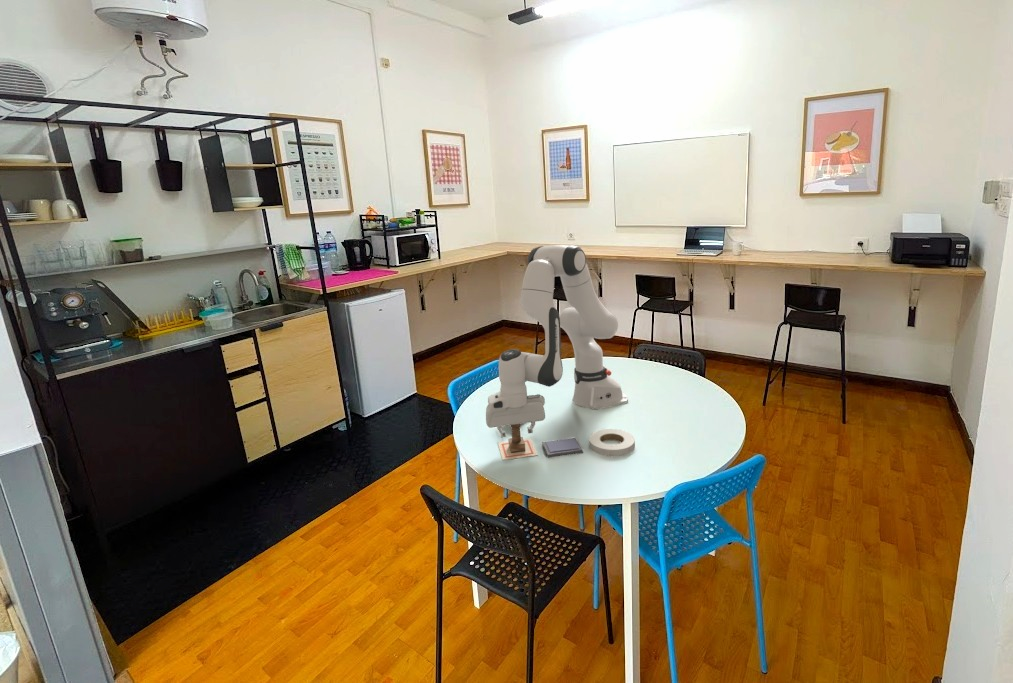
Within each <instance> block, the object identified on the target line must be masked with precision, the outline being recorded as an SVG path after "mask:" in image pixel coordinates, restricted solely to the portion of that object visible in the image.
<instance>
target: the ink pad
mask: <svg viewBox="0 0 1013 683" xmlns="http://www.w3.org/2000/svg"><path fill="white" fill-rule="evenodd" d="M541 445H542V448H543V450H544V451H545V454H546V456H547V458H548V459H551V458H556V457H557V458H558V457H563V456H564V457H565V456H571V455H579V454H584V449H583V447H582V446H581V445H580V443H579V440H578V439H577V437H570V438H562V439H555V440H548V441H542V442H541Z"/></svg>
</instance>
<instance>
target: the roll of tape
mask: <svg viewBox="0 0 1013 683" xmlns="http://www.w3.org/2000/svg"><path fill="white" fill-rule="evenodd" d="M588 441H589V442H588V443H589V445H588V446H589V449H590V450H591V451H592V452H594V453H595V454H598V455H600V456H603V457H609V458H611V457H613V458H616V457H617V458H618V457H623V456H627V455H629V454H631V453H632V452H634V450H635V448H636V438H635V436H634V435H633V434H631V433H630V432H629V431H626V430H622V429H617V428H602V429H599V430H597V431H594V432H592V433H591V434H590V436H589V438H588ZM606 441H616V442H619V443H616V444H609V443H606Z"/></svg>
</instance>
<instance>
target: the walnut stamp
mask: <svg viewBox="0 0 1013 683" xmlns="http://www.w3.org/2000/svg"><path fill="white" fill-rule="evenodd" d="M509 426H510V428H511V438H507V439H508V440H507V441H508V442H509V448H510V451H511V453H517V452H524V451H525V442H524V439H525V438H524V437H523V436H521V424H514V425H509Z"/></svg>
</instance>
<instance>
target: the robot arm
mask: <svg viewBox="0 0 1013 683" xmlns="http://www.w3.org/2000/svg"><path fill="white" fill-rule="evenodd" d="M555 277H560V281H561V285H562V289H563V292H564V295H565V298H566V301H567V303H568V304H569V305H570V306H571V307H566V308H564V309H563V310H562V311H561V313H560V312H559V311H558V309H557V308H556V307H555V303H554V291H555ZM595 290H596V289H595V288H594V283H593V281H592V276H591V273H590V270H589V267H588V264H587V256H586V254H585V252H584V250H583V249H582V248H581V247H580V246H578V245H573V244H570V245H566V244H554V245H545V246H543V245H541V246H536V247H534V248H532V249H531V250H530V252H529V254H528V257H527V267H526V270H525V273H524V276H523V280H522V286H521V291H520V299H519V300H520V306H521V309H522V310H523V312H524V314H526V315H527V316H528V317H530V318H531V319H533V320H535V321H537V322H538V323H539V324H541V326H542V328H543V330H544V335H545V336H544V337H545V340H544V341H545V343H544V344H545V345H544V346H545V347H544V349H545V350H544V351H545V353H544V355H543V354H537V353H531V352H526V351H525V352H524V351H521V350H520V349H518V348H511V349H507V350H504V351H503V352H502V353H500V355H499V357H498V358H499V359H498V378H499V381H500V390H499V391H498V392H496V393H494V394H491V395H489V396H488V397H487V403H488V404H487V406H486V408H485V409H486V411H485V423H486V426H487V427H488V428H490V429H491V428H496V429H497V431H498V432H499V433H500V437H501V438H506V431H505V430H503V429H502V427H505V426H510V425H514V424H529V423H530V425H529V426H527V427H526V429H527V433H528V434H530V435H531V434H533V432H534V428H535V426H536V422H542V421H544V420H545V419H546V410H545V408H544V406H545V404H546V402H545V397H544V396H543V395H541V394H531V395H528V391H527V385H526V382H530V383H535V384H539V385H542V386H544V387H553V386H554V385H556V384H557V383H558V382H559V381H560V380H561V379H562V376H563V374H564V372H563V371H564V370H563V363H562V362H563V360H562V351H561V350H562V347H561V346H562V343H561V329H562V330H564V332H565V333H566V334H567V336H568V338H569V340H570V342H571V344H572V348H573V353H574V363H575V367H574V369H573V370H574V372H573V374H574V375H573V378H574V383H575V384H574V391H573V396H572V402H573V404H574V405H576V406H579V407H583V408H587V409H592V410H600V409H605V408H609V407H613V406H618V405H623V404H627V403H629V398H628V395H627V394H626V393H625V392H624V391H623V390H622V387H621V385H620V383H619V382H618V381H617V380H615V379H614V378H612V377H611V375H612V371H611V370H610V369H608V368H607V367H606V366H604V363H603V362H604V360H603V359H604V358H603V354H604V353H603V349H602V347H601V346H600V345H599V344H598V343H597V342H596V340H595V339H598V340H606V339H612V338H613V337H614V336H615V335H616V333H617V332H618V328H619V322H618V321H619V320H618V318H617V317H616V316H615V315H614V314H613V313H612V312H611V311H609V310H608V309H607V308H606V307H605V305H604V304H603V302H602V301H601V300H600V299H599V297H598V295H597V293H596V291H595Z"/></svg>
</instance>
